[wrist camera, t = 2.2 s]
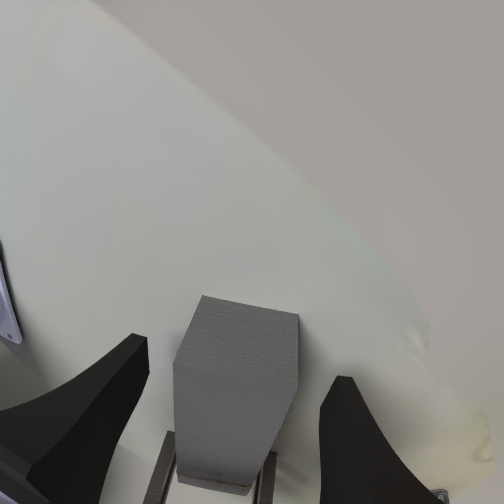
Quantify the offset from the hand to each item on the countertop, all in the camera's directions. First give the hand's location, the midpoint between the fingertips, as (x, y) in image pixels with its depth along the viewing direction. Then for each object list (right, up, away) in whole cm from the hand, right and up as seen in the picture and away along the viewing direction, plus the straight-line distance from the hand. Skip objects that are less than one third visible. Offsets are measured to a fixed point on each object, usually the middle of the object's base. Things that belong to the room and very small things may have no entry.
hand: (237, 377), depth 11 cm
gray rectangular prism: (0, -2, +4) cm, 5 cm away
